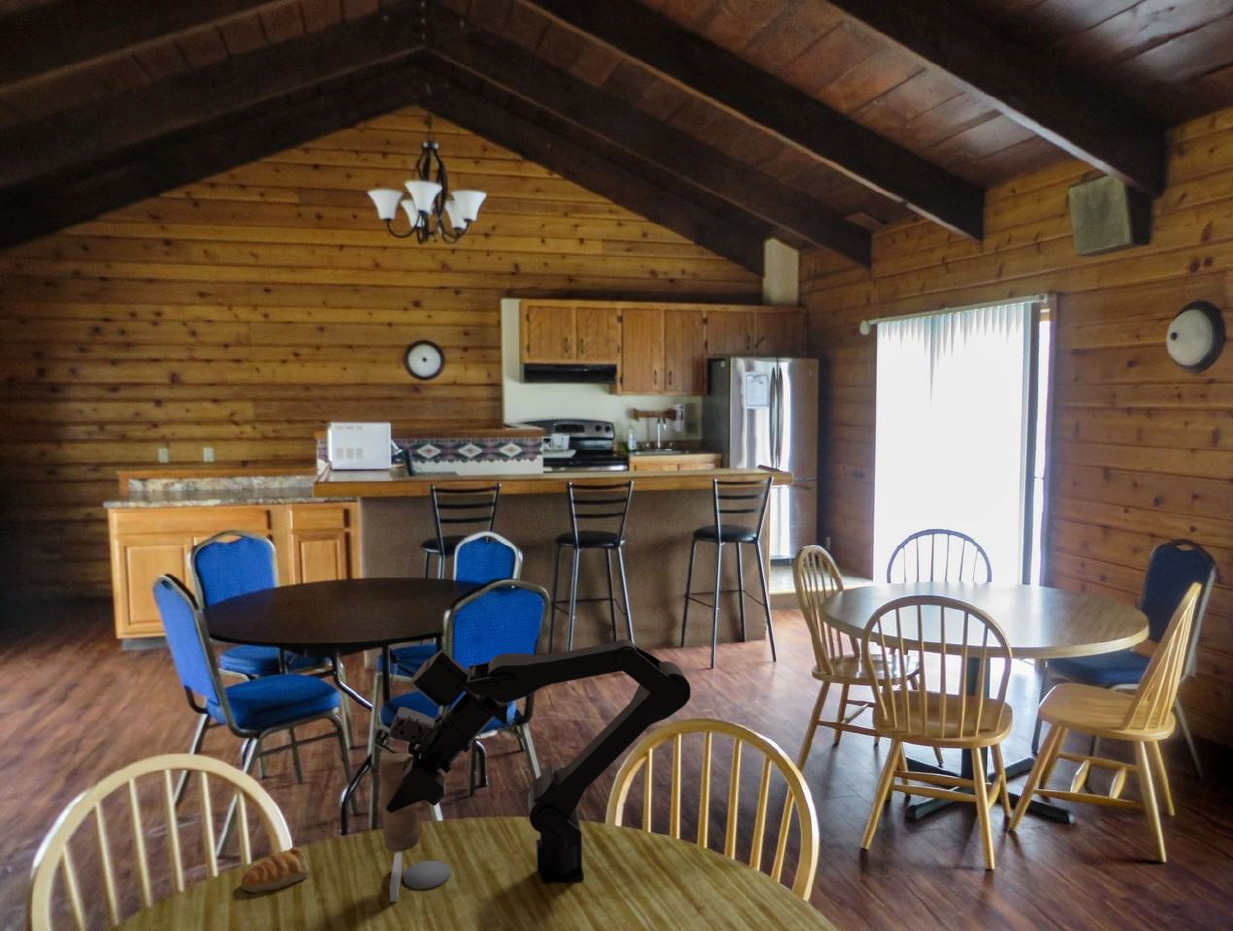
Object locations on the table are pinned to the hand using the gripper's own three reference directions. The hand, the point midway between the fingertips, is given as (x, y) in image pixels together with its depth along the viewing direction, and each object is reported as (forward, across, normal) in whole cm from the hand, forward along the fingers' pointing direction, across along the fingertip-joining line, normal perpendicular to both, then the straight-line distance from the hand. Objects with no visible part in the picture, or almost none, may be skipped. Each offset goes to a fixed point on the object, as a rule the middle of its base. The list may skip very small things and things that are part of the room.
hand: (390, 801), depth 132 cm
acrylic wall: (+9, 0, +9) cm, 13 cm away
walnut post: (+4, 0, +6) cm, 7 cm away
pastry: (+22, -4, -3) cm, 22 cm away
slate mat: (+6, -1, +13) cm, 14 cm away
